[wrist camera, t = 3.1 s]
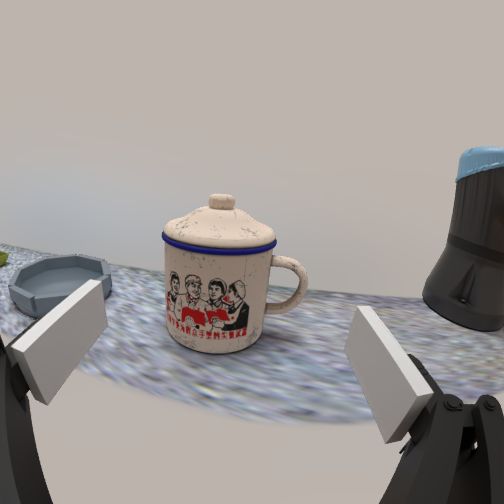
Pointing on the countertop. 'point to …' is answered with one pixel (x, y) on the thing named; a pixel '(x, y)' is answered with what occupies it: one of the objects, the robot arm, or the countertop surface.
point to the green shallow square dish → (3, 257)
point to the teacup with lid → (221, 277)
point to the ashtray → (55, 281)
